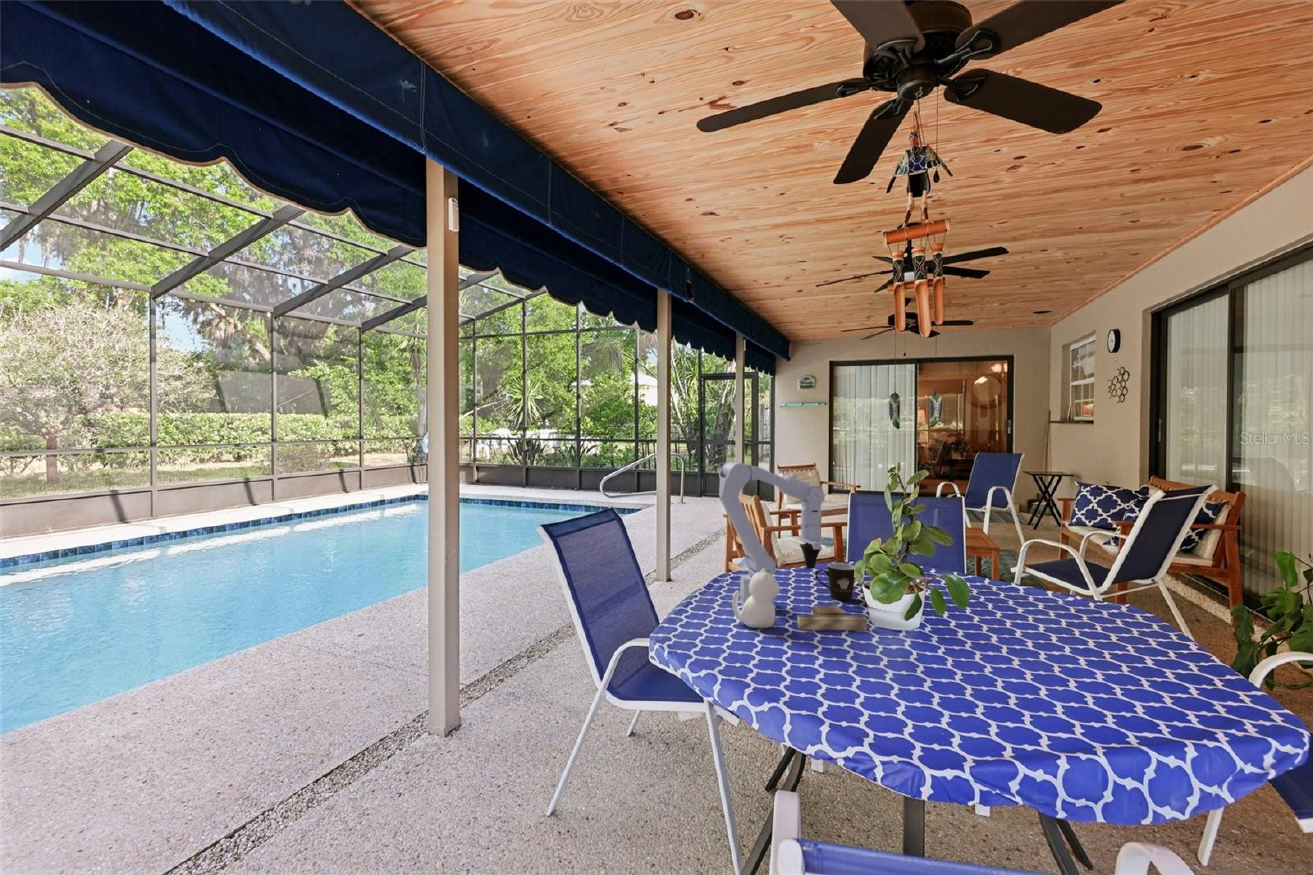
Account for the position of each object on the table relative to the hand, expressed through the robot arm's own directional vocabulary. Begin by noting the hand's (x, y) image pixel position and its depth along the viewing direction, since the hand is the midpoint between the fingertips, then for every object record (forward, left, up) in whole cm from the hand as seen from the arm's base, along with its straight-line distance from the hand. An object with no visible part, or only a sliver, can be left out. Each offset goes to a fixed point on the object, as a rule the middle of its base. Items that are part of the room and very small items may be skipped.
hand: (810, 568), depth 179 cm
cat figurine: (-21, -21, -11) cm, 31 cm away
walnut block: (0, -19, -11) cm, 22 cm away
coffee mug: (+10, +5, -11) cm, 16 cm away
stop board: (-1, -23, -10) cm, 25 cm away
